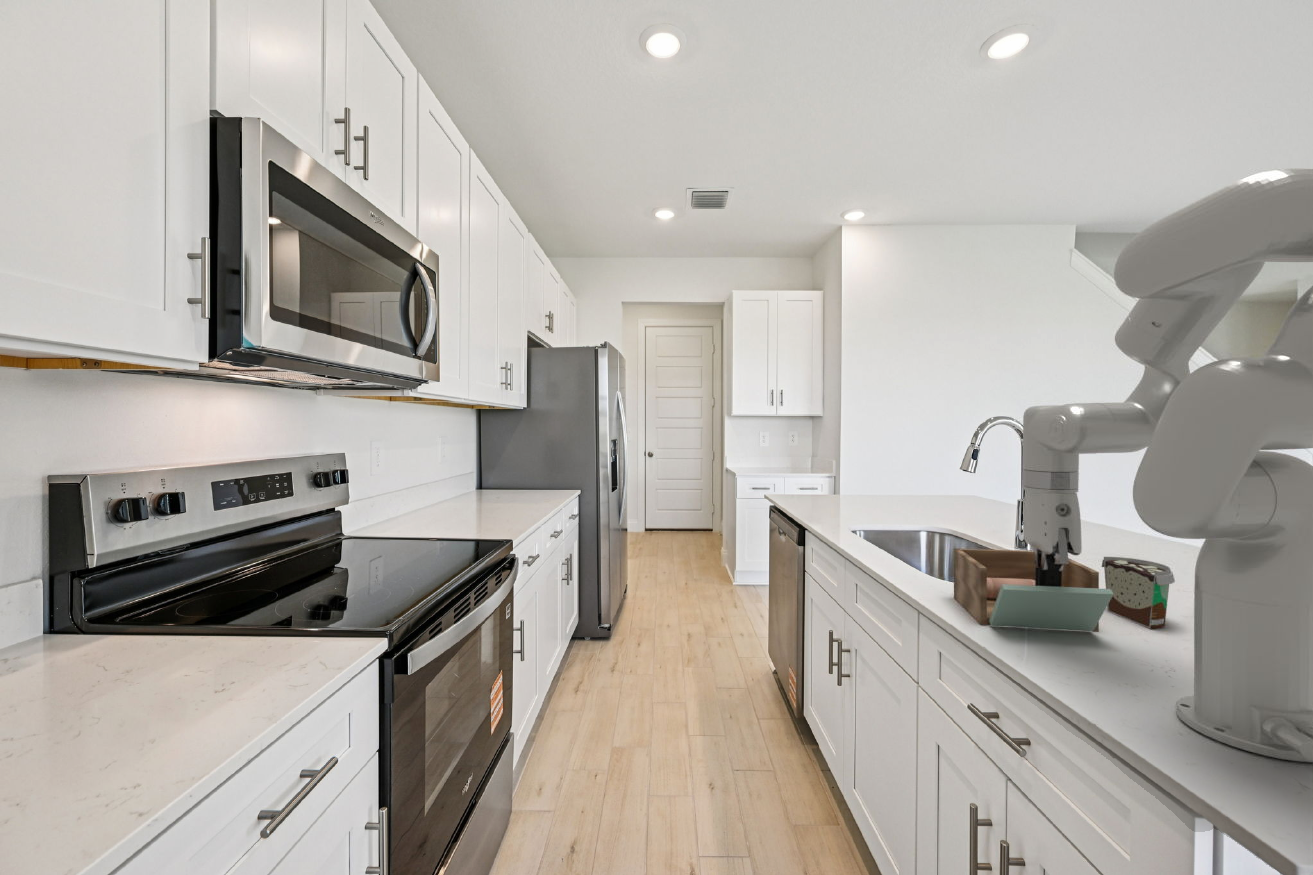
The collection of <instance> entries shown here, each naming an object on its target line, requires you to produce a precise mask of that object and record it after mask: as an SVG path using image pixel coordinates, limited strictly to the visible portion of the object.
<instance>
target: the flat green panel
mask: <svg viewBox="0 0 1313 875" xmlns="http://www.w3.org/2000/svg"><path fill="white" fill-rule="evenodd" d="M1113 595H1114V594H1113V592H1112V590H1111V589H1106V588H1100V587H1099V588H1076V587H1052V586H1029V585H1005V584H1002V586H1001V589H1000V592H999V594H998V597H997V600H996V603H995V606H994V609H993V611H992V614H991V617H990V620H989V622H990V625H989V626H990V627H1007V628H1008V627H1010V628H1011V627H1013V628H1023V629H1025V628H1027V629H1042V630H1043V629H1045V630H1058V631H1059V630H1061V631H1063V630H1064V631H1078V632H1079V631H1080V632H1095V631H1094V629H1095V627H1096V625H1097V623H1098V622H1099V621H1100V619H1101V618H1102V616H1103V614H1104V612H1105V611H1106V610H1107V605H1108V604H1109V602H1110V600H1111V598H1112V596H1113ZM1099 623H1100V622H1099Z"/></svg>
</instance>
